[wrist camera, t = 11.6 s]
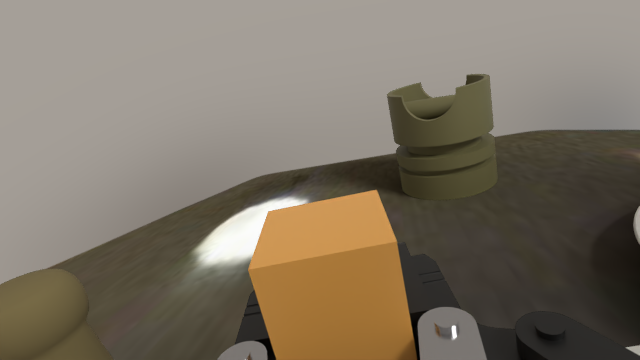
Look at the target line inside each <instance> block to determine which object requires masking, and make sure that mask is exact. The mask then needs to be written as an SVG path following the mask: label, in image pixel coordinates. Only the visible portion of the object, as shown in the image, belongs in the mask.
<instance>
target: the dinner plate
mask: <svg viewBox="0 0 640 360" xmlns="http://www.w3.org/2000/svg"><path fill="white" fill-rule="evenodd" d="M633 227H634V233H635V236H636V239H637V241H638V243H639V244H640V206H639V207H638V209H637V211H636V213H635V216H634V223H633Z"/></svg>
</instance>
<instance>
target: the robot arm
mask: <svg viewBox="0 0 640 360" xmlns="http://www.w3.org/2000/svg"><path fill="white" fill-rule="evenodd" d="M397 245H398V251H399V257H400V263H401V268H402V274H403V280H404V286H405V291H406V297H407V303H408V309H409V314H410V320H411V326H412V332H413V337H414V343H415V349H416V355H417V360H640V355H638V354H636V353H634V352H632V351H631V350H629V349H627V348H625V347H623V346H621V345H619V344H618V343H616V342H614V341H612V340H610V339H608V338H607V337H605V336H603V335H601V334H599V333H597V332H595V331H594V330H592V329H590V328H588V327H586V326H584V325H583V324H581V323H579V322H577V321H575V320H573V319H571V318H569V317H567V316H565V315H562V314H558V313H554V312H546V311H539V312H532V313H528V314H526V315H524V316H522V317H521V318H520V319H519V320H518V321H517V323H516V326H515V329H504V328H492V327H487V326H484V325H480V324H478V323H476V321H475V319H474V318H473V317H472V316H471V315H470V314H469V313H467V312H465V311H463V310H461V308H460V306H459V304H458V302H457V301H456V299H455V297H454V295H453V293H452V291H451V289H450V288H449V286H448V284H447V282H446V281H445V278H444V276H443V275H442V273H441V271H440V269H439V267H438V265H437V263H436V262H435V261H434V260H433V259H431V258H430V257H428V256H427V255H425V254H421V255H416V256H411V255H410V253H409V251H408V249H407V246H406V244H405V242H402V243H397ZM217 360H276V357H275V354H274V351H273V347H272V344H271V341H270V338H269V335H268V331H267V328H266V325H265V322H264V319H263V315H262V312H261V309H260V306H259V303H258V299H257V296H256V293H255V290H254V291H253V292H252V293H251V294H250V296H249V300H248V303H247V308H246V309H245V313H244V317H243V319H242V323H241V326H240V329H239V332H238V336H237V339H236V342H235V345H234V346H232V347H230V348H228V349H227V350H226V351H224V352H223V353H222V354H221V355H220V357H219V358H218V359H217Z"/></svg>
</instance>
